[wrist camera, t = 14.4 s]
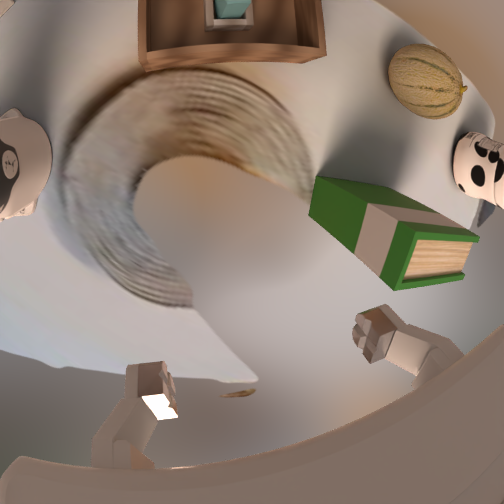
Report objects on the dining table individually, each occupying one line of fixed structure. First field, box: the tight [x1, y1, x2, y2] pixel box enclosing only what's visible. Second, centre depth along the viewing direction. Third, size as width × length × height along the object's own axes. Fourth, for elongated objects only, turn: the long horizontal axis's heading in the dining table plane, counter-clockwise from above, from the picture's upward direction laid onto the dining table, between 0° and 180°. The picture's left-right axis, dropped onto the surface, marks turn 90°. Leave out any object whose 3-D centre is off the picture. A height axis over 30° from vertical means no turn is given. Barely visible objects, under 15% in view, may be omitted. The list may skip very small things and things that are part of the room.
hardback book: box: [308, 176, 480, 291], centre depth 39 cm, size 18×7×24 cm, turn 83°
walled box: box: [138, 0, 327, 72], centre depth 25 cm, size 24×18×8 cm
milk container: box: [453, 132, 504, 209], centre depth 45 cm, size 17×17×18 cm
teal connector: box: [214, 0, 251, 19], centre depth 24 cm, size 3×4×8 cm
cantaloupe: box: [388, 44, 467, 119], centre depth 33 cm, size 15×15×15 cm
